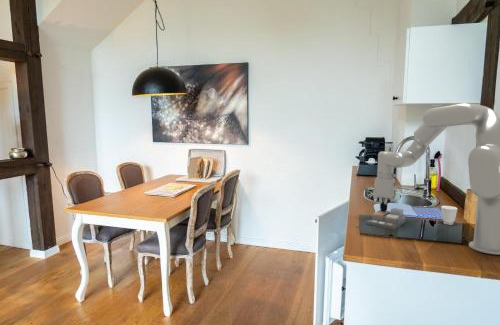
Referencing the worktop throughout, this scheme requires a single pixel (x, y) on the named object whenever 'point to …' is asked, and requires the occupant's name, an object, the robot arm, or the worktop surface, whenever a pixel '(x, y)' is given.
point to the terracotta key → (379, 214)
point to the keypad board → (386, 222)
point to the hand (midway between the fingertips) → (383, 211)
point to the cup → (448, 214)
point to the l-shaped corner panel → (395, 197)
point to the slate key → (397, 212)
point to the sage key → (384, 212)
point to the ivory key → (392, 216)
